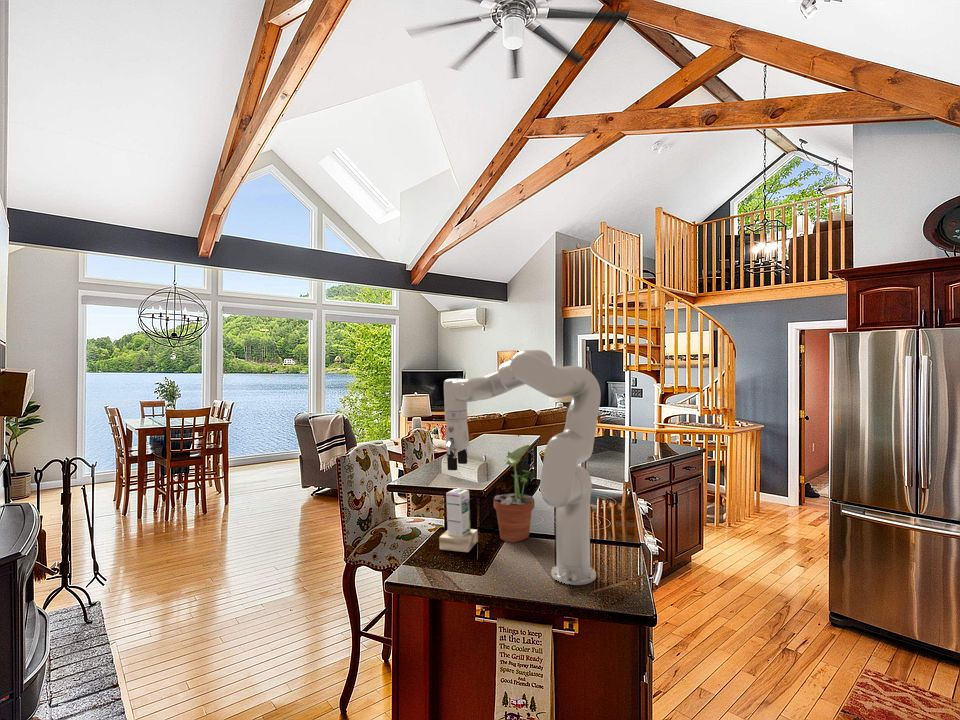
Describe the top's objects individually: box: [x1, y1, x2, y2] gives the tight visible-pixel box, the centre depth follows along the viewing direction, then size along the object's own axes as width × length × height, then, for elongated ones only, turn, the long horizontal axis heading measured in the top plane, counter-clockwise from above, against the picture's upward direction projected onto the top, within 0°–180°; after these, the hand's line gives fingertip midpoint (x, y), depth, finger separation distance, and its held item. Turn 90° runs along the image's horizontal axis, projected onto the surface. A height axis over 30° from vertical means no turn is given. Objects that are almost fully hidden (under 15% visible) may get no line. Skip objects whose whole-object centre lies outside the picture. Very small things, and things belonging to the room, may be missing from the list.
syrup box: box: [445, 487, 472, 537], centre depth 174 cm, size 6×6×14 cm
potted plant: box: [493, 444, 535, 543], centre depth 182 cm, size 16×15×35 cm
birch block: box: [438, 528, 479, 553], centre depth 175 cm, size 10×10×4 cm
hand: (457, 466), depth 174 cm, fingers open, 9 cm apart
